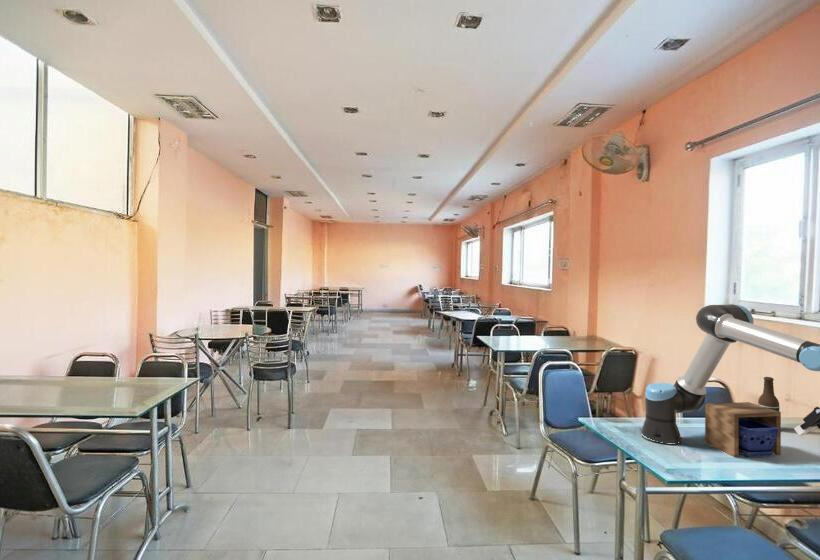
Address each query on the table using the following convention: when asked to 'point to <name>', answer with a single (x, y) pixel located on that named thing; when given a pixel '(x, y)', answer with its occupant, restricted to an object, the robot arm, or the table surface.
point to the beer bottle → (768, 395)
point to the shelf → (736, 424)
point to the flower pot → (756, 438)
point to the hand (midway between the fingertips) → (798, 431)
